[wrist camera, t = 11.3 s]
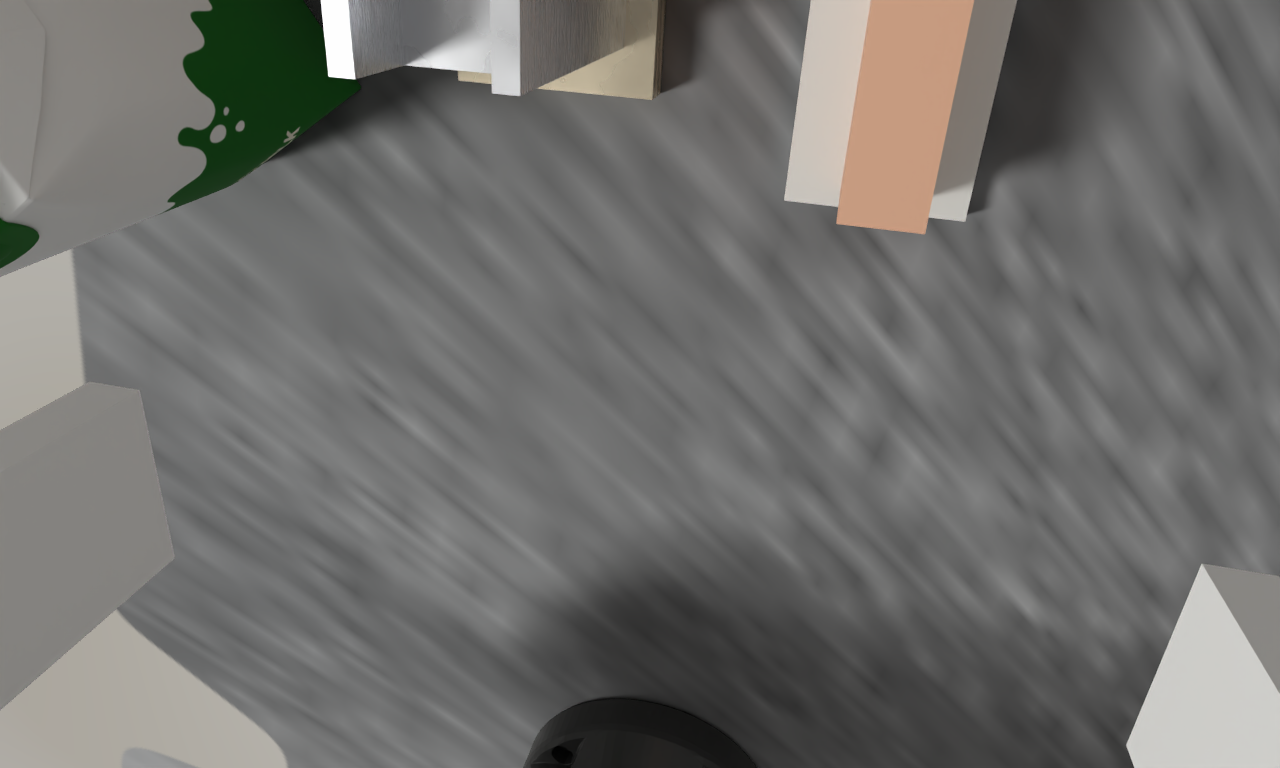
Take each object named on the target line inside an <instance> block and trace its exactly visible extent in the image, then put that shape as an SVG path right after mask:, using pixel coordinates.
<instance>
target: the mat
mask: <svg viewBox="0 0 1280 768" xmlns="http://www.w3.org/2000/svg"><path fill="white" fill-rule="evenodd" d="M870 2H871V0H811V5H810V12H809V20H808V27H807V35H806V42H805V49H804V57H803V64H802V72H801V79H800V87H799V94H798V101H797V109H796V116H795V124H794V131H793V138H792V146H791V153H790V161H789V168H788V176H787V183H786V190H785V198H784V201H793V202H802V203H810V204H819V205H827V206H836V207H838V206H839V197H840V189H841V182H842V176H843V170H844V164H845V158H846V151H847V145H848V139H849V133H850V126H851V120H852V114H853V108H854V102H855V95H856V89H857V83H858V77H859V70H860V64H861V58H862V52H863V45H864V39H865V33H866V27H867V21H868V14H869V8H870ZM1016 3H1017V0H974V4H973V8H972V13H971V18H970V23H969V27H968V32H967V37H966V42H965V46H964V51H963V56H962V61H961V65H960V70H959V75H958V80H957V84H956V89H955V94H954V99H953V103H952V108H951V113H950V117H949V122H948V127H947V132H946V136H945V141H944V146H943V151H942V155H941V160H940V165H939V170H938V174H937V179H936V184H935V189H934V193H933V198H932V203H931V208H930V212H929V217H930V218H938V219H947V220H956V221H964V222H965V220H966V216H967V211H968V207H969V203H970V199H971V194H972V190H973V186H974V182H975V177H976V173H977V169H978V165H979V160H980V156H981V152H982V148H983V143H984V139H985V135H986V131H987V126H988V122H989V118H990V114H991V109H992V105H993V101H994V97H995V92H996V88H997V84H998V79H999V75H1000V71H1001V67H1002V62H1003V58H1004V54H1005V50H1006V45H1007V41H1008V37H1009V33H1010V28H1011V24H1012V20H1013V16H1014V11H1015V7H1016Z"/></svg>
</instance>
